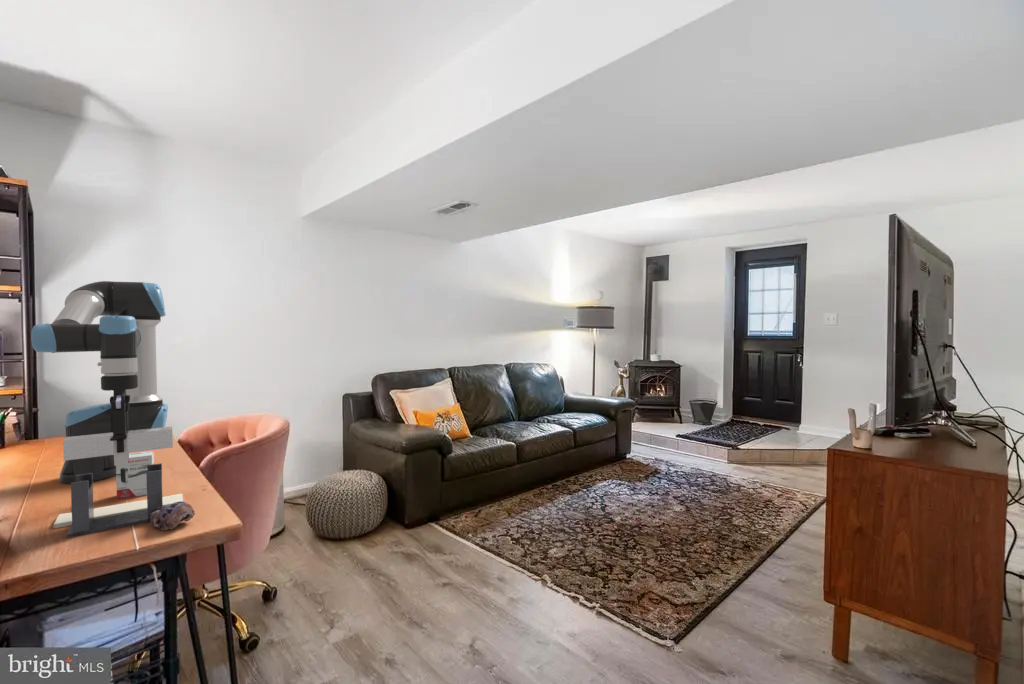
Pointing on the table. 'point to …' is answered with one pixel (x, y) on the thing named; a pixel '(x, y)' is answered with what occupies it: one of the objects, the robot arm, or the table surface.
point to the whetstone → (103, 446)
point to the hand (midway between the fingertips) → (122, 461)
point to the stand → (87, 524)
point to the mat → (116, 510)
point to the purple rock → (172, 515)
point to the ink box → (133, 475)
